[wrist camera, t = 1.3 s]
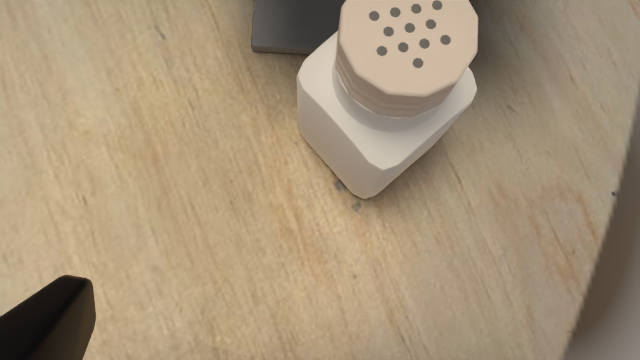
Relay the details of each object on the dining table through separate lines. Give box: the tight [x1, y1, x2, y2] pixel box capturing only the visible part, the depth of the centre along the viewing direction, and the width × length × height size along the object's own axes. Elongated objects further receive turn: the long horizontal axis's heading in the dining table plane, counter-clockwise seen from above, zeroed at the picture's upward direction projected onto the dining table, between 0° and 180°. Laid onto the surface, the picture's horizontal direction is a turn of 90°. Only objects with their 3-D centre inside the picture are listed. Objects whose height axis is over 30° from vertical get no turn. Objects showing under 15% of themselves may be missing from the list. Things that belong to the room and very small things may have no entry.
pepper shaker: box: [296, 0, 478, 199], centre depth 18 cm, size 4×4×10 cm
